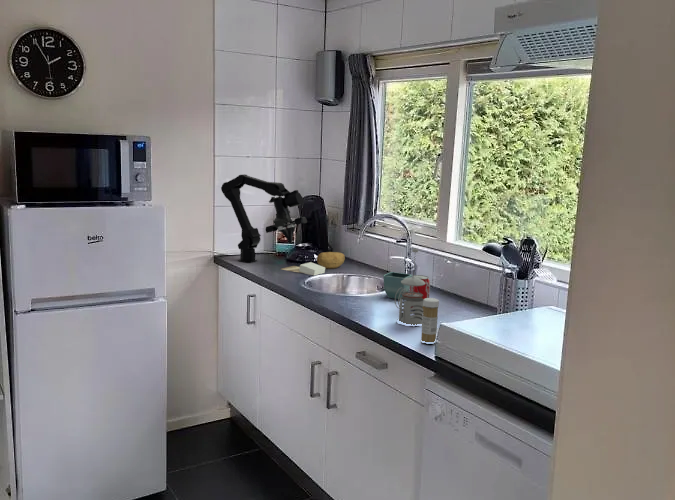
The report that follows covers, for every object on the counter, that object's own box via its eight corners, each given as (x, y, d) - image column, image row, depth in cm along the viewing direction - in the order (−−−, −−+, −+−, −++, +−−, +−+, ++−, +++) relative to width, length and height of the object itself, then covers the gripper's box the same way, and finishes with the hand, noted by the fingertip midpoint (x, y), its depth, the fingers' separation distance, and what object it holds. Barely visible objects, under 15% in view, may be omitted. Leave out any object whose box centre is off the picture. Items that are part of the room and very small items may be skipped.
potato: (349, 269, 287) (350, 252, 286) (323, 272, 280) (324, 254, 278) (337, 265, 295) (338, 249, 294) (312, 268, 288) (312, 250, 286)
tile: (300, 264, 272) (314, 270, 268) (310, 262, 278) (325, 267, 274) (298, 271, 273) (313, 277, 269) (309, 268, 279) (324, 274, 275)
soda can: (423, 313, 219) (425, 279, 217) (405, 309, 223) (407, 276, 221) (431, 309, 225) (433, 276, 223) (413, 305, 229) (415, 273, 227)
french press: (431, 324, 206) (437, 249, 202) (404, 329, 199) (410, 252, 195) (411, 317, 214) (416, 245, 209) (385, 321, 207) (389, 247, 203)
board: (279, 270, 278) (279, 269, 278) (293, 267, 287) (293, 265, 286) (303, 275, 271) (303, 273, 271) (316, 271, 280) (316, 270, 280)
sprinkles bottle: (431, 340, 189) (434, 297, 187) (438, 345, 185) (442, 300, 183) (417, 341, 188) (420, 297, 186) (424, 346, 184) (428, 301, 181)
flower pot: (389, 293, 246) (391, 271, 244) (411, 297, 242) (412, 274, 240) (381, 298, 238) (382, 275, 236) (403, 301, 234) (404, 278, 232)
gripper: (256, 216, 279) (265, 249, 280) (294, 205, 274) (303, 240, 274) (266, 214, 290) (275, 247, 290) (303, 204, 284) (311, 237, 285)
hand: (290, 243), depth 285 cm, fingers closed
